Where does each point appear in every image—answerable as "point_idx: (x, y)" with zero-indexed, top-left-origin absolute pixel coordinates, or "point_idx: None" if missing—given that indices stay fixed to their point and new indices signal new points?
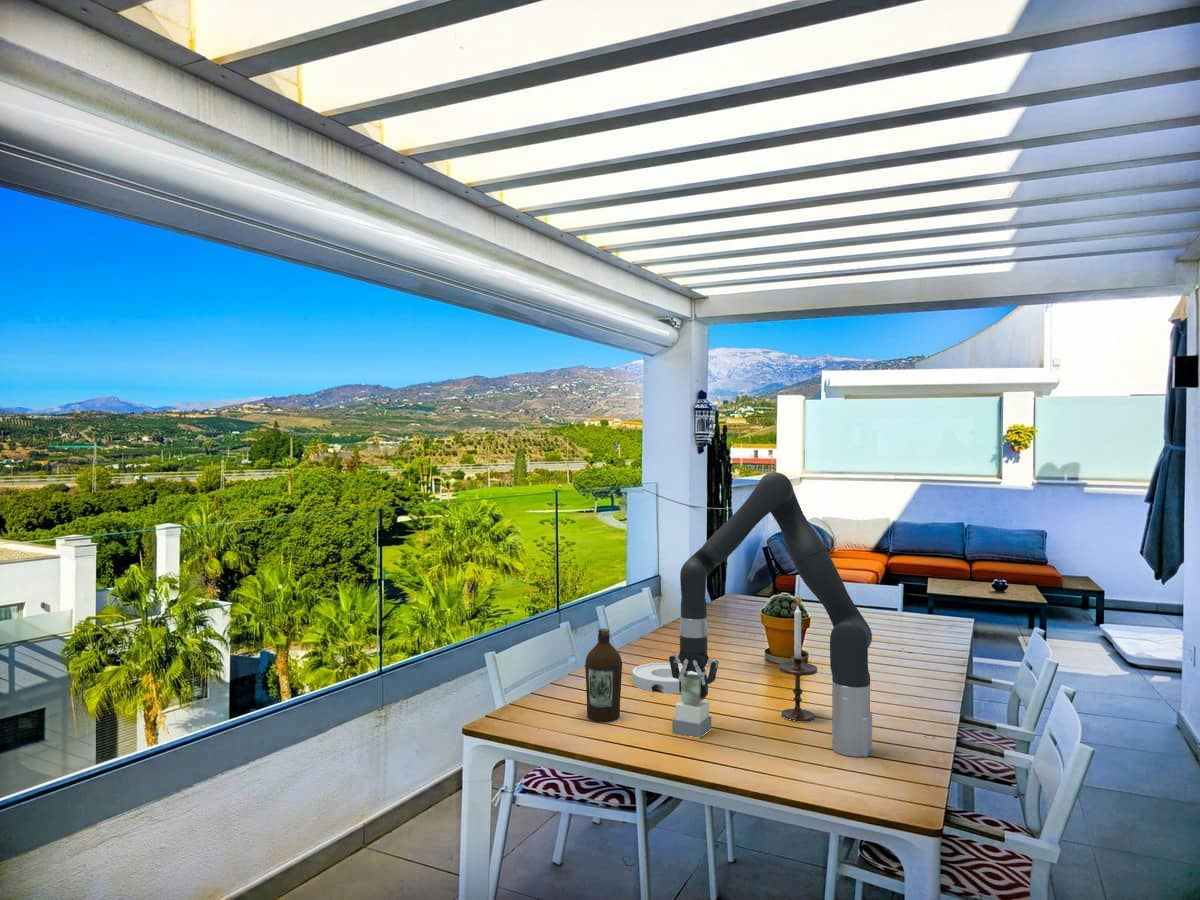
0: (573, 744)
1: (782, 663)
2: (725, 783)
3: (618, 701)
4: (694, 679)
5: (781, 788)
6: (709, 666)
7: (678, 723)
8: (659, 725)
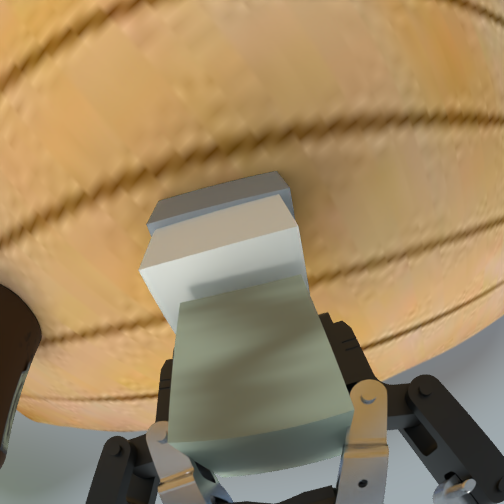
0: (130, 419)
1: None
2: (412, 366)
3: (11, 346)
4: (309, 460)
5: (474, 322)
6: (440, 499)
7: None
8: (113, 270)
